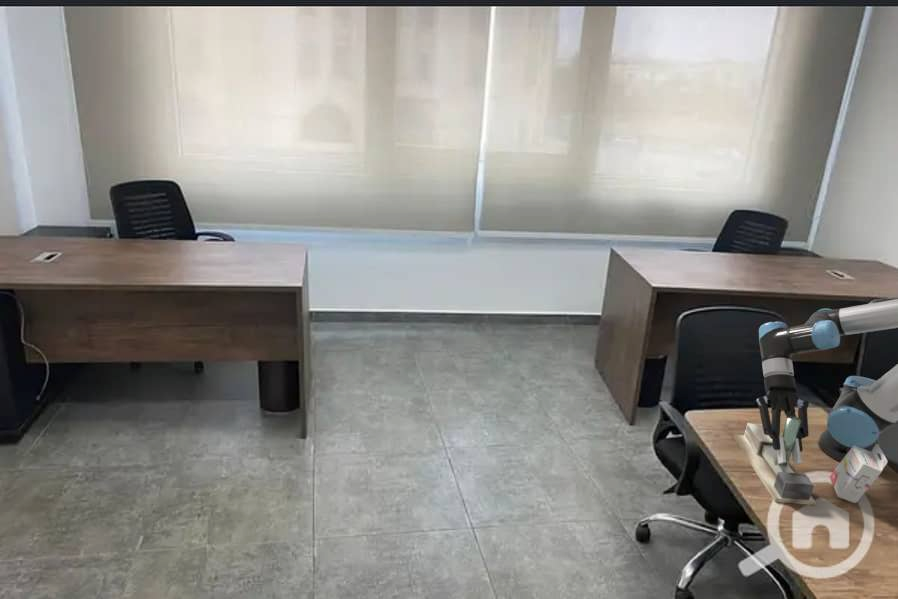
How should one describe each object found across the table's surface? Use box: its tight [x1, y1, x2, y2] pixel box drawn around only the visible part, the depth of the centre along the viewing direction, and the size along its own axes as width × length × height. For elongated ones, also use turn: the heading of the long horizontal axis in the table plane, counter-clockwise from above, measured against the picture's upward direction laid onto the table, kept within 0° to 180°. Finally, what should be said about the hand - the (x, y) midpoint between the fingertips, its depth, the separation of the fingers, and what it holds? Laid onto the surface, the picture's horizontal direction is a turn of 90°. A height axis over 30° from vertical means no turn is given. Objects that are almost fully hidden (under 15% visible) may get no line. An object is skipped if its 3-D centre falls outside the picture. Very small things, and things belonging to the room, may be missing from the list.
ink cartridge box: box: [829, 444, 888, 504], centre depth 165 cm, size 9×5×15 cm, turn 166°
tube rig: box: [733, 422, 817, 506], centre depth 175 cm, size 10×30×6 cm, turn 177°
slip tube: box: [760, 416, 801, 475], centre depth 169 cm, size 3×20×16 cm, turn 177°
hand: (789, 463), depth 166 cm, fingers closed on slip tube, 3 cm apart
